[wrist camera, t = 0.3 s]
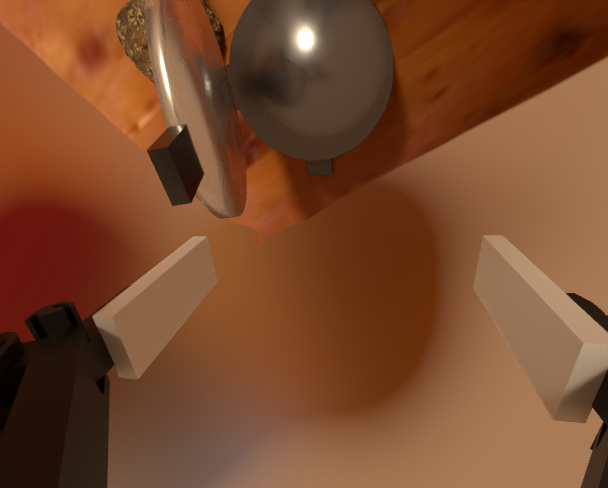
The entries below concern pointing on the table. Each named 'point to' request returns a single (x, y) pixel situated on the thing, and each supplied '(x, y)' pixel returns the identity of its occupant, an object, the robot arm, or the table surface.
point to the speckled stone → (135, 36)
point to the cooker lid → (194, 110)
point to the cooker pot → (311, 75)
